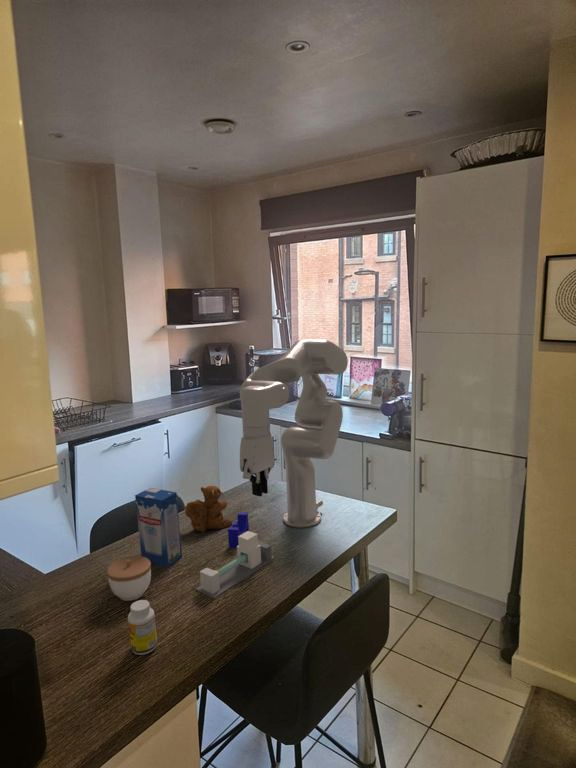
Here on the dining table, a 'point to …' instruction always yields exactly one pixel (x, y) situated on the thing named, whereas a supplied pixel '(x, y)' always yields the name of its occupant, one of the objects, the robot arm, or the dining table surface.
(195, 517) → the stuffed squirrel
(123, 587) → the lidded jar
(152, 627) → the supplement bottle
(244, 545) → the sleeve
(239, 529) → the blue curved block
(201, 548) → the dining table surface
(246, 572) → the threaded rod slide
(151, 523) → the milk carton
